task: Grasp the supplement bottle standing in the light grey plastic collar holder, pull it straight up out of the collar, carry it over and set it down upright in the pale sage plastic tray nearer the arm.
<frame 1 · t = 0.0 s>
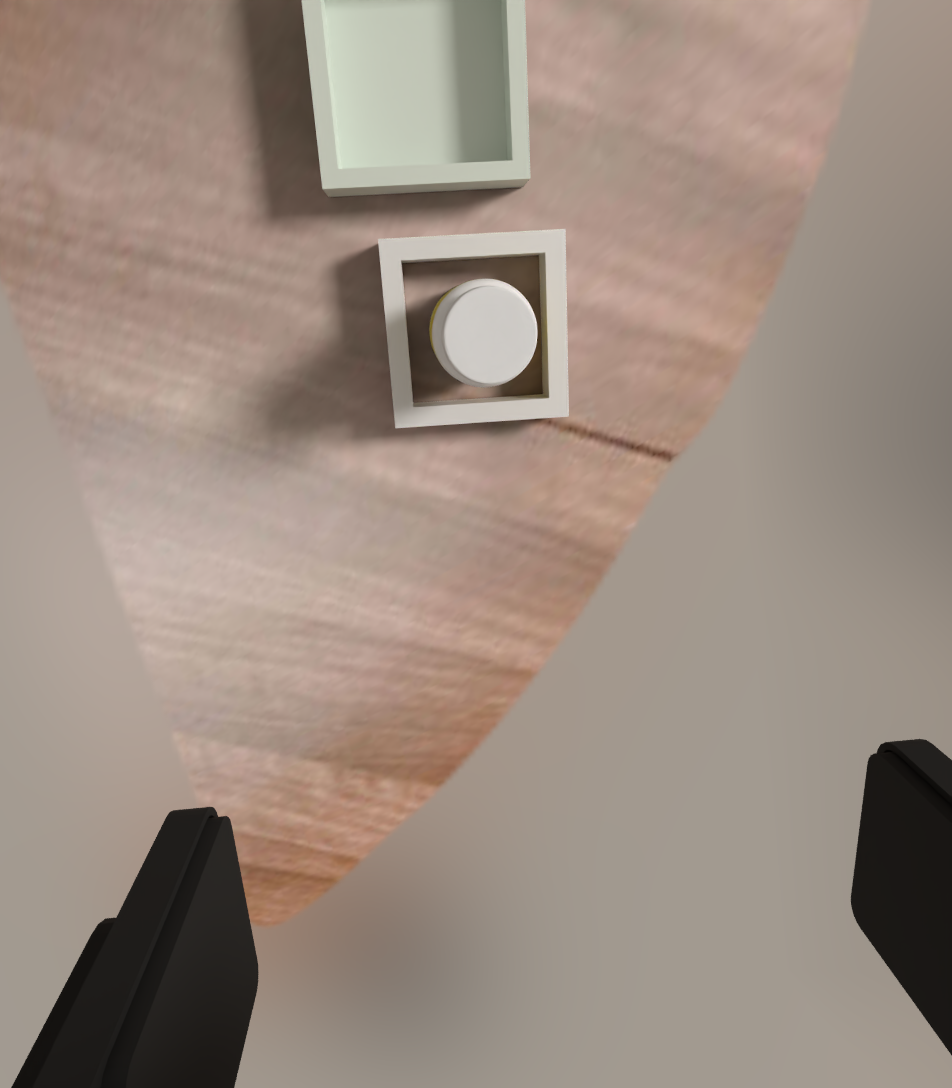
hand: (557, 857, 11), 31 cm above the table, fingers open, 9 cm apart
supplement bottle: (474, 330, 39), resting in collar holder
collar holder: (474, 330, 38), on the table
tray: (418, 80, 35), on the table
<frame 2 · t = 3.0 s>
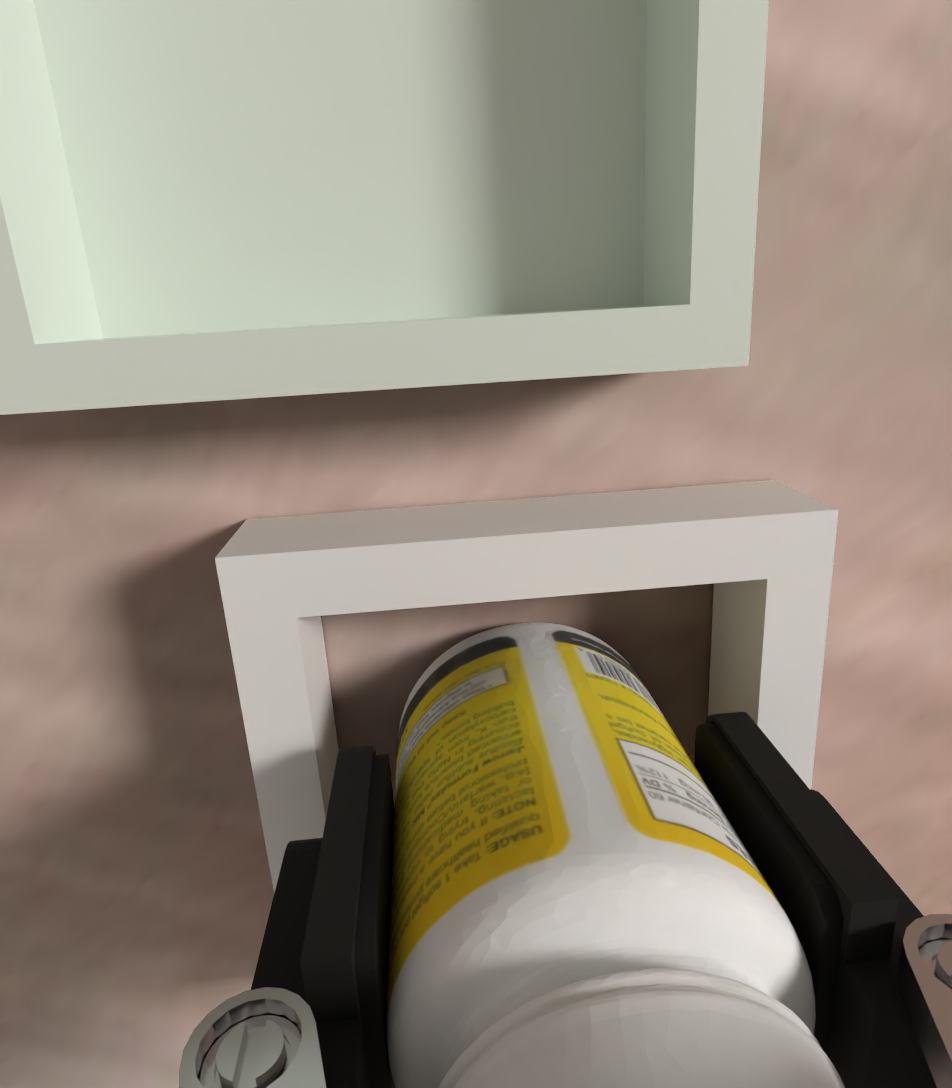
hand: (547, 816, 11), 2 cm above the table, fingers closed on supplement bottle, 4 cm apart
supplement bottle: (524, 725, 14), resting in collar holder, touching gripper
collar holder: (525, 731, 14), on the table
tray: (352, 19, 10), on the table
when the fingers open (4 cm above the table, at t = 10.4 s): supplement bottle drops 1 cm, resting on tray.
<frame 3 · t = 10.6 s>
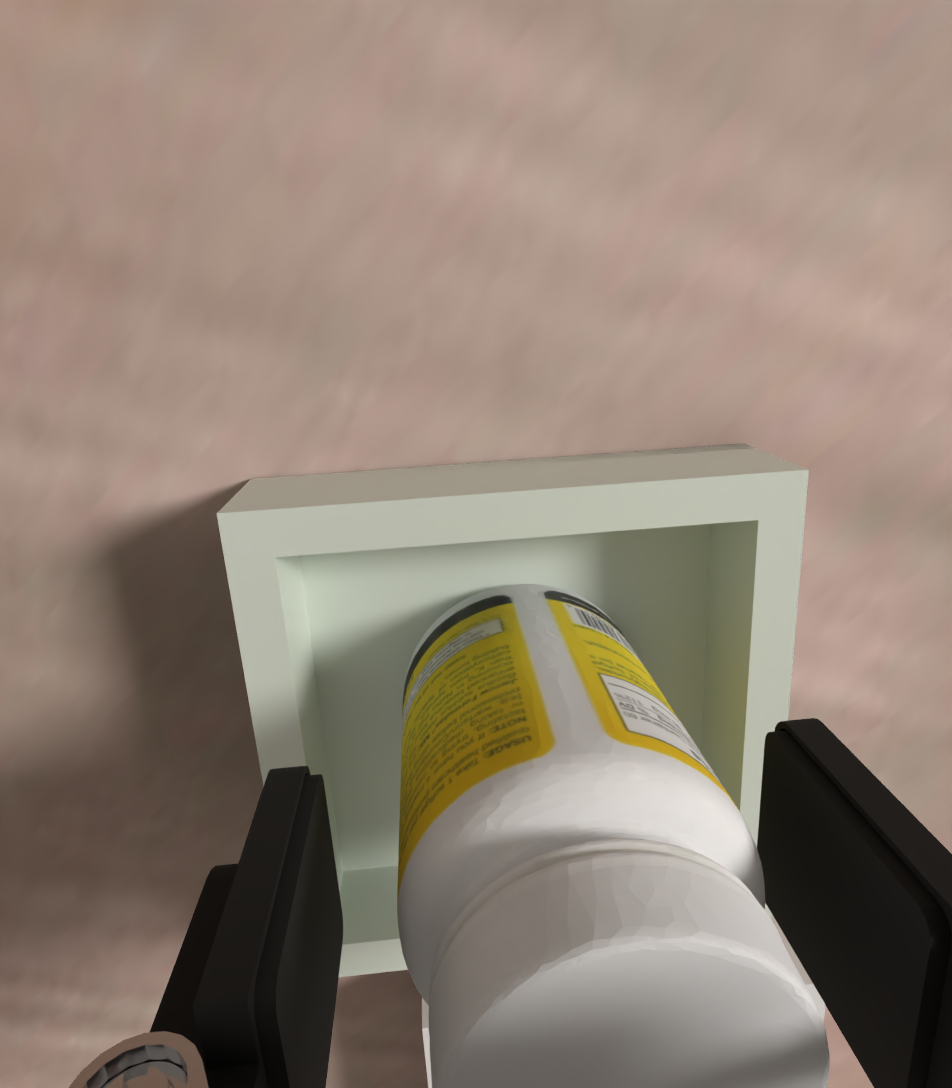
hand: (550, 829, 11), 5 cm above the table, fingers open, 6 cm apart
supplement bottle: (518, 681, 15), resting on tray
collar holder: (606, 1066, 19), on the table
tray: (512, 682, 16), on the table
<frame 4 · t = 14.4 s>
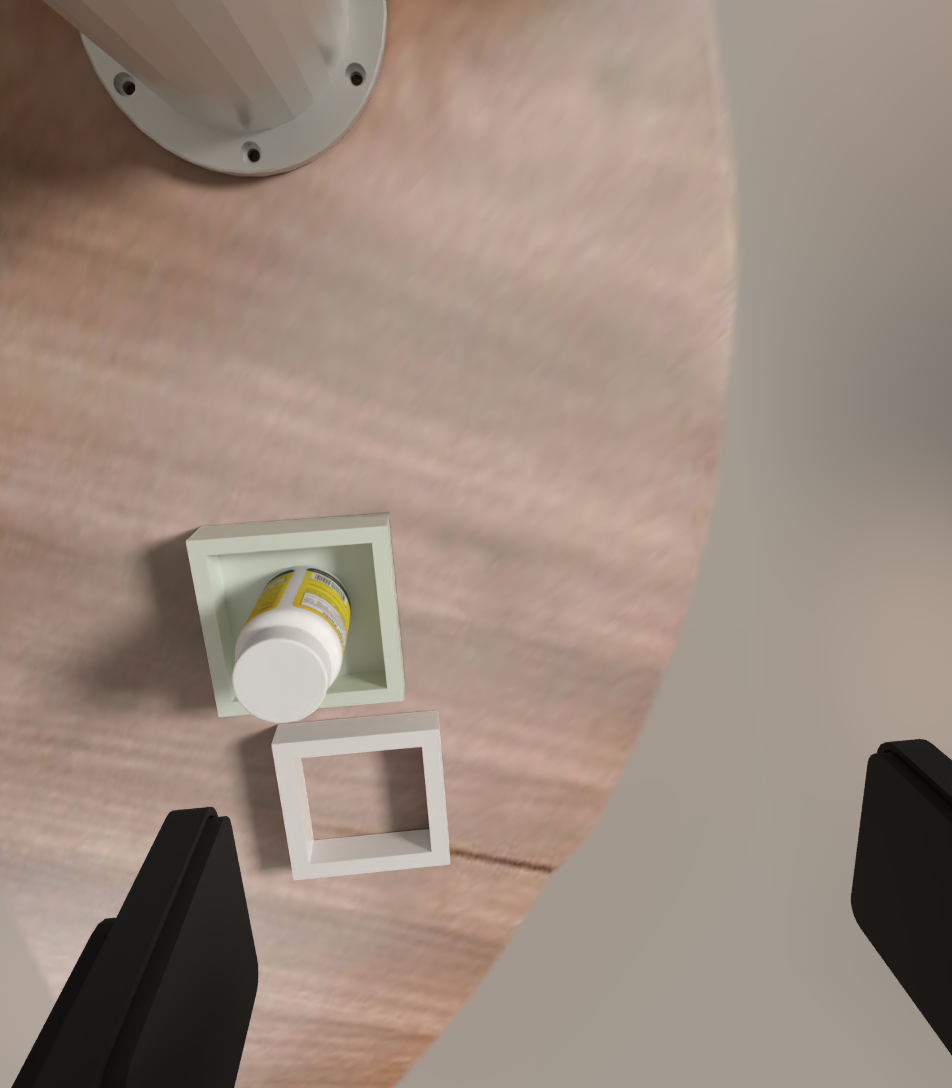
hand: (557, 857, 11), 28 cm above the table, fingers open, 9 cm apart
supplement bottle: (307, 604, 39), resting on tray
collar holder: (366, 784, 43), on the table
tray: (307, 605, 39), on the table
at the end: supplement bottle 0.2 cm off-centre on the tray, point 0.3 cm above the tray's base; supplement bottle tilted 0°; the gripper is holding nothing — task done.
